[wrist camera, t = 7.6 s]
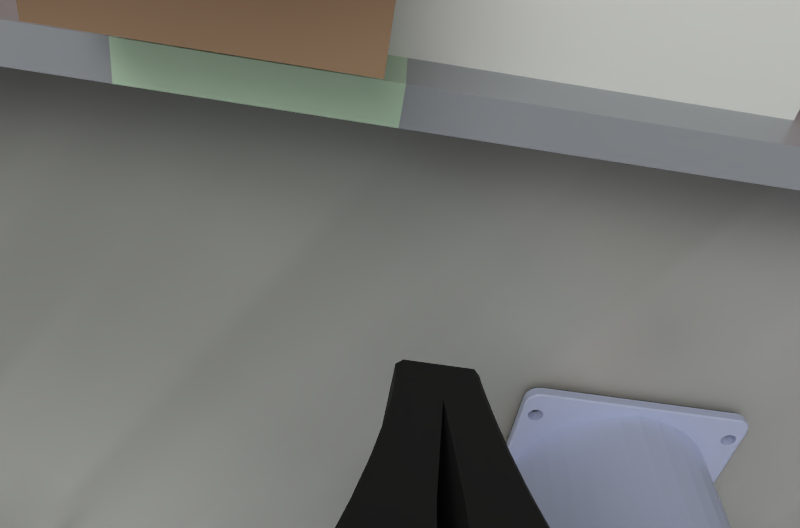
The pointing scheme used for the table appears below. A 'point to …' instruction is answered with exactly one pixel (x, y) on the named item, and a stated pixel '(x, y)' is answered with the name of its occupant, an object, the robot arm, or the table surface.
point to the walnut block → (240, 27)
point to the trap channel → (514, 78)
